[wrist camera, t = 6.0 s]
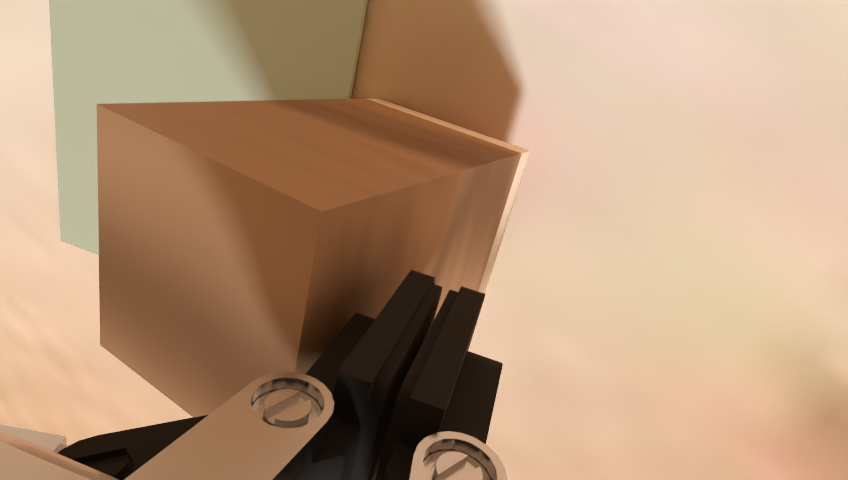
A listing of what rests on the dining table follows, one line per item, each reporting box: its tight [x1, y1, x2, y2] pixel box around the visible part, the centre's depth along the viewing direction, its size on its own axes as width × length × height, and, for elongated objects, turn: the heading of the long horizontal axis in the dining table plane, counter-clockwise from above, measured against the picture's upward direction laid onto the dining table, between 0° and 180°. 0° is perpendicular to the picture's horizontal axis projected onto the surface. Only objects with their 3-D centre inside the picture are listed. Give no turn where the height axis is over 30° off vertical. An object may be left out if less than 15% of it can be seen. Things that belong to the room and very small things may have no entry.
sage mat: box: [49, 0, 368, 255], centre depth 21 cm, size 15×13×1 cm
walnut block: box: [97, 98, 530, 417], centre depth 15 cm, size 6×6×10 cm
